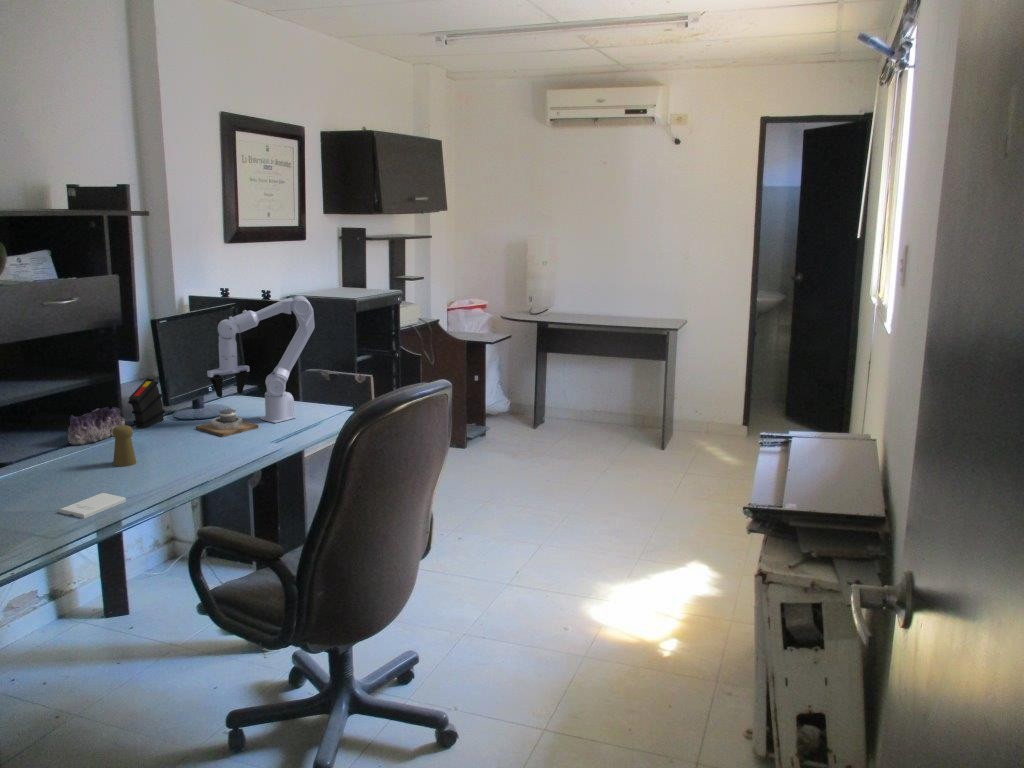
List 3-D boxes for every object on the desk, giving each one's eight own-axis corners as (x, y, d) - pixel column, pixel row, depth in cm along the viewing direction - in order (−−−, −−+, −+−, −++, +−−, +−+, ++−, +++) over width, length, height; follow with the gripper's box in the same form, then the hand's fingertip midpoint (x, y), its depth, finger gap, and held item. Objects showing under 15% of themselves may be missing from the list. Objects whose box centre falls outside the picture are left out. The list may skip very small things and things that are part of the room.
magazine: (170, 413, 283) (156, 378, 273) (149, 438, 272) (133, 403, 263) (160, 412, 283) (146, 377, 274) (139, 437, 273) (123, 402, 264)
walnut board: (231, 420, 282) (231, 417, 282) (258, 427, 275) (258, 425, 275) (195, 429, 271) (195, 426, 271) (223, 436, 264) (222, 433, 263)
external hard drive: (126, 503, 207) (84, 520, 196) (102, 498, 210) (59, 514, 199) (126, 497, 207) (83, 514, 195) (101, 492, 210) (58, 508, 198)
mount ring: (230, 420, 279) (229, 414, 279) (248, 425, 274) (247, 419, 274) (206, 425, 271) (205, 420, 271) (224, 431, 266) (224, 425, 266)
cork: (114, 460, 237) (111, 424, 235) (137, 459, 239) (134, 422, 237) (112, 467, 232) (109, 429, 229) (135, 465, 234) (133, 428, 231)
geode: (94, 448, 248) (86, 417, 246) (60, 450, 250) (52, 419, 248) (134, 428, 268) (127, 398, 265) (102, 430, 270) (95, 400, 267)
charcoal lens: (228, 423, 276) (228, 408, 275) (239, 425, 273) (239, 410, 272) (216, 426, 271) (216, 411, 270) (228, 428, 269) (227, 413, 268)
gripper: (214, 360, 268) (216, 400, 271) (253, 354, 279) (255, 393, 282) (203, 356, 273) (205, 396, 276) (242, 351, 283) (244, 390, 286)
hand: (229, 395), depth 279 cm, fingers open, 7 cm apart
